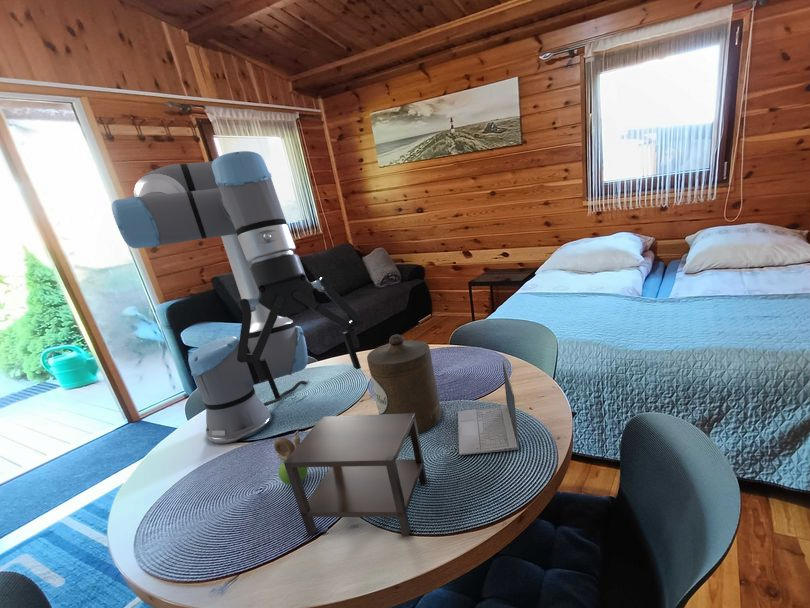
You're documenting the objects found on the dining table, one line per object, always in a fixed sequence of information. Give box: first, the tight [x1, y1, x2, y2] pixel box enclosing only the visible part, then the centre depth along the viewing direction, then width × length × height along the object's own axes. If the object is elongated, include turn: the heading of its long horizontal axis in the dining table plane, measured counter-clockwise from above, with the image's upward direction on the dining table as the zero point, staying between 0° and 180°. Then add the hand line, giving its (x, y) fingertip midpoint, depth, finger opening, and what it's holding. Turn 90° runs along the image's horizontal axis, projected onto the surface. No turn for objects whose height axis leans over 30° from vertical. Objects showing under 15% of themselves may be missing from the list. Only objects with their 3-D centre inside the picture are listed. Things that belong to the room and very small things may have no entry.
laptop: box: [457, 359, 520, 456], centre depth 95 cm, size 18×12×13 cm
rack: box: [283, 413, 428, 537], centre depth 76 cm, size 14×18×15 cm
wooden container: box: [366, 333, 442, 436], centre depth 102 cm, size 15×15×22 cm
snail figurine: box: [273, 430, 309, 486], centre depth 86 cm, size 5×6×12 cm
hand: (319, 382), depth 73 cm, fingers open, 13 cm apart
